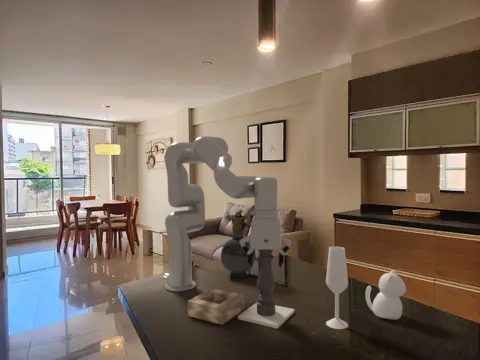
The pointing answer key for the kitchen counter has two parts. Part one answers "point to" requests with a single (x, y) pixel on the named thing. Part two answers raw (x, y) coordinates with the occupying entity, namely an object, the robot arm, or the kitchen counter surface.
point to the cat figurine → (387, 296)
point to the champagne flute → (337, 281)
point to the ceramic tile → (269, 321)
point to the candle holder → (265, 284)
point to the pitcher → (237, 248)
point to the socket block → (216, 306)
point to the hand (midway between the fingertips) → (265, 265)
